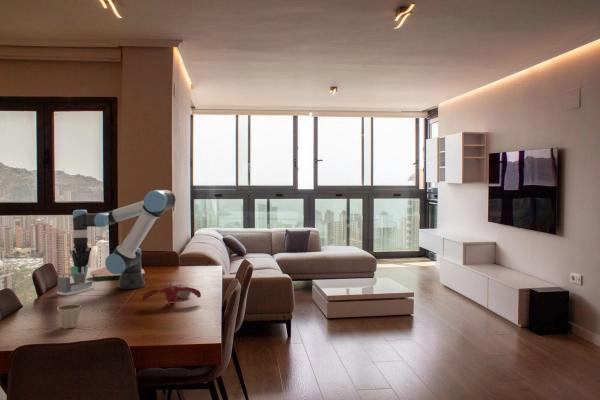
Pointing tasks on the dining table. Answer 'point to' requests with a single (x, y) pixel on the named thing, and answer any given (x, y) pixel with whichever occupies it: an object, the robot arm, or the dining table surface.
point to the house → (106, 273)
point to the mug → (75, 270)
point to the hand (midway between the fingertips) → (81, 278)
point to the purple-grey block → (78, 279)
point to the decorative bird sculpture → (171, 293)
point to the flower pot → (69, 315)
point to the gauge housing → (67, 290)
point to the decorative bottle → (180, 294)
